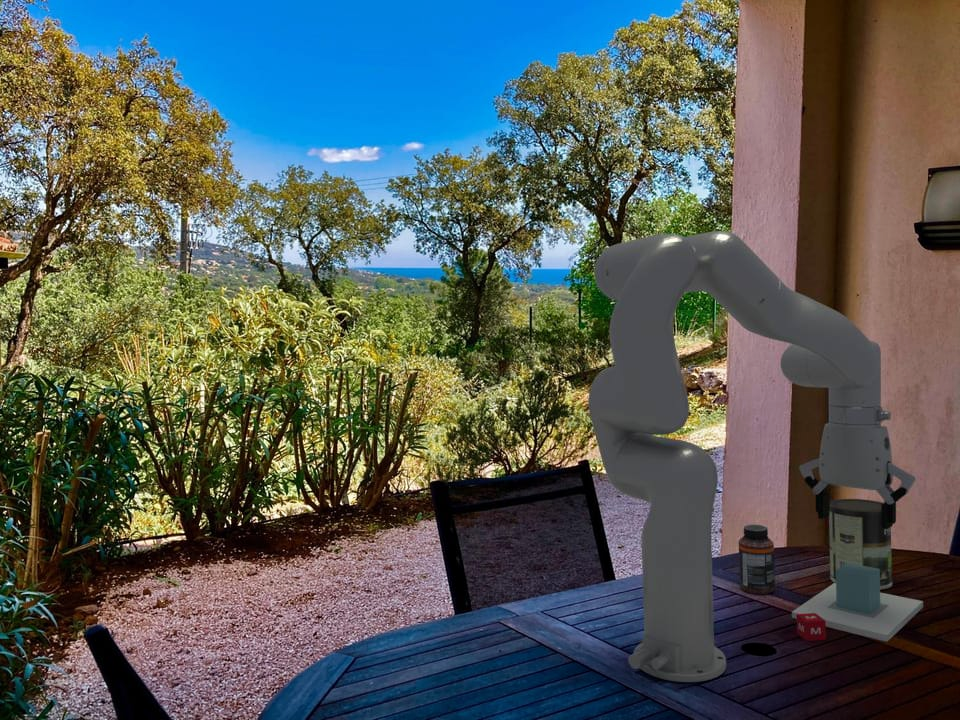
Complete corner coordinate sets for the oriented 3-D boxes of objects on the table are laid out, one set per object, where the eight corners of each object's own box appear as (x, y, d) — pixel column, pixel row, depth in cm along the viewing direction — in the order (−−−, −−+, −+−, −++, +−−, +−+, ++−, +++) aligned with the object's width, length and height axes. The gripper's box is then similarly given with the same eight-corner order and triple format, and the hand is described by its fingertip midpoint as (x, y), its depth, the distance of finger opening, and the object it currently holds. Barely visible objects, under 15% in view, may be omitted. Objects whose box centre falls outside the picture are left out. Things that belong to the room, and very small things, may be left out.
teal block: (880, 605, 120) (879, 568, 119) (869, 614, 116) (868, 576, 116) (847, 598, 123) (847, 562, 123) (836, 606, 120) (835, 570, 120)
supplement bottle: (745, 581, 136) (743, 521, 136) (778, 587, 133) (777, 525, 132) (735, 591, 131) (733, 528, 131) (770, 597, 128) (768, 533, 127)
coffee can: (890, 575, 137) (889, 500, 136) (894, 593, 128) (893, 513, 127) (829, 569, 141) (827, 496, 141) (829, 586, 132) (827, 508, 132)
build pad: (887, 641, 108) (886, 634, 108) (791, 618, 119) (791, 611, 118) (923, 607, 121) (922, 600, 121) (834, 588, 131) (834, 582, 131)
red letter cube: (815, 632, 113) (815, 612, 113) (826, 640, 110) (825, 620, 110) (796, 633, 113) (796, 614, 113) (806, 641, 110) (806, 621, 110)
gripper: (921, 418, 115) (921, 527, 116) (809, 412, 128) (809, 510, 128) (906, 422, 110) (906, 536, 110) (791, 415, 122) (791, 517, 123)
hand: (854, 522), depth 119 cm, fingers open, 9 cm apart
